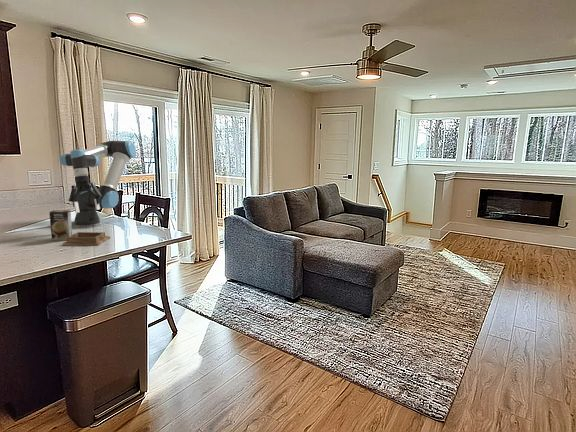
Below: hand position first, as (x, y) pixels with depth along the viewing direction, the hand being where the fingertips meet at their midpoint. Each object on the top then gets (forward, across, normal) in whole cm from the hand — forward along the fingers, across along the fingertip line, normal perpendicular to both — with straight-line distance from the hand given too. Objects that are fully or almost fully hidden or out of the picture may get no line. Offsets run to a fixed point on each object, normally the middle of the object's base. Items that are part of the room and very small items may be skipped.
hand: (87, 211), depth 222 cm
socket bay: (+17, +10, -19) cm, 27 cm away
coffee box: (+14, -7, -16) cm, 22 cm away
